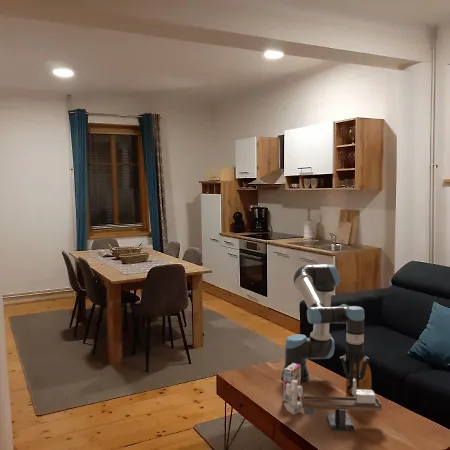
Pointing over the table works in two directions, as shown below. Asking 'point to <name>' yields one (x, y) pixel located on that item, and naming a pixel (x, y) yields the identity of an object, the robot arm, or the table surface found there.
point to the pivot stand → (340, 421)
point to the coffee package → (363, 383)
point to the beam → (335, 404)
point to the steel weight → (364, 397)
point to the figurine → (294, 397)
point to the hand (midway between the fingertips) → (353, 393)
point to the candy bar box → (291, 374)
